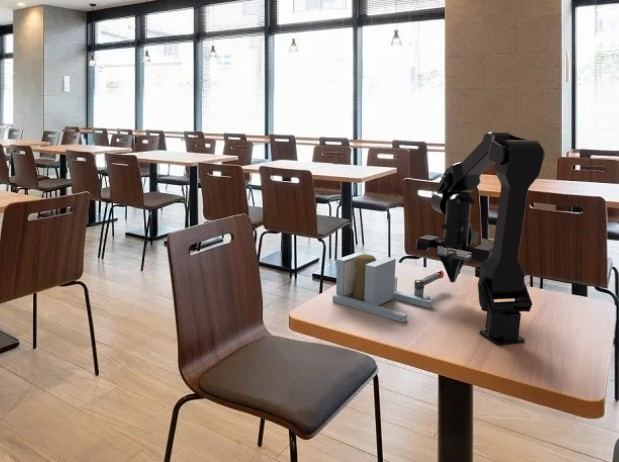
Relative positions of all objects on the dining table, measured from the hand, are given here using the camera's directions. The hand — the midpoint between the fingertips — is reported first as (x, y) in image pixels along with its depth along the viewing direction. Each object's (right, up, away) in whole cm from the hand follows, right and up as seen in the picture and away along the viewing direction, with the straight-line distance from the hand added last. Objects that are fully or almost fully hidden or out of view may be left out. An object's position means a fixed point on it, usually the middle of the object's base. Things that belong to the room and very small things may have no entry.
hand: (452, 282), depth 131 cm
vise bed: (-17, -4, -2) cm, 17 cm away
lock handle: (-5, -1, +3) cm, 6 cm away
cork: (-22, -4, -1) cm, 22 cm away
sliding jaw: (-18, -5, -4) cm, 19 cm away
